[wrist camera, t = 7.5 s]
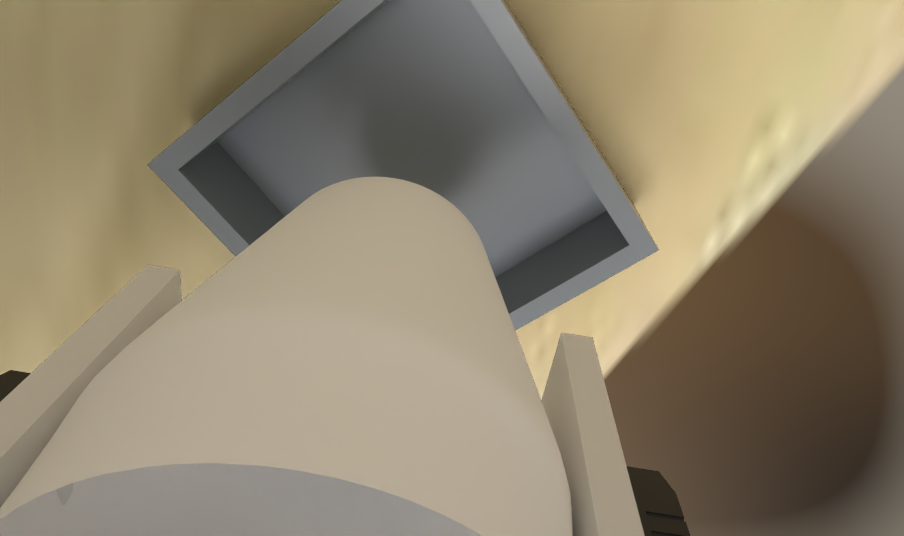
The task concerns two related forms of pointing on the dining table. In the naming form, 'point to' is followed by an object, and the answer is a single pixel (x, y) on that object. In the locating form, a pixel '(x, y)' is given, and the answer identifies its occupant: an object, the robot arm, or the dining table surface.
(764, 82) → the dining table surface
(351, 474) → the cup
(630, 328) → the dining table surface
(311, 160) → the bin
